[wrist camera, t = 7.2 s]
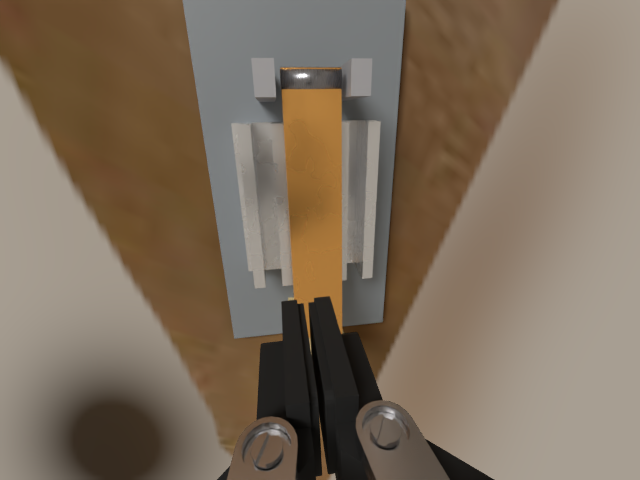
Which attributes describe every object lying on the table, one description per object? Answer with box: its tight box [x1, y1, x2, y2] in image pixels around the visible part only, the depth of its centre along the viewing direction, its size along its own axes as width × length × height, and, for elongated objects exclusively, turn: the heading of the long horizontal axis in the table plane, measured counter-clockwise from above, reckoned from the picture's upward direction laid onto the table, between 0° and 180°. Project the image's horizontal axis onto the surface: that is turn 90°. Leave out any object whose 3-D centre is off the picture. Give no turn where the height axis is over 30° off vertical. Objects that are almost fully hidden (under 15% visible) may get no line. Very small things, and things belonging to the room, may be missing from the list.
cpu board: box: [183, 0, 406, 349], centre depth 20 cm, size 24×13×7 cm, turn 1°
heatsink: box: [231, 120, 381, 289], centre depth 20 cm, size 10×9×4 cm
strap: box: [280, 67, 342, 337], centre depth 18 cm, size 16×3×1 cm, turn 1°
